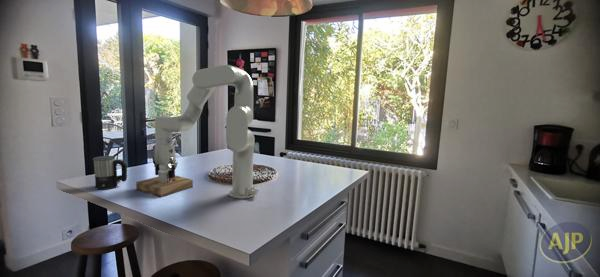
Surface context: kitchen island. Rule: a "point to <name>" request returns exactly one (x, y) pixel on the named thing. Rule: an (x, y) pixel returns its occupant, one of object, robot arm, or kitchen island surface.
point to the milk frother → (108, 172)
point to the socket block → (164, 186)
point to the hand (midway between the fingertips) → (165, 176)
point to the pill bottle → (163, 174)
